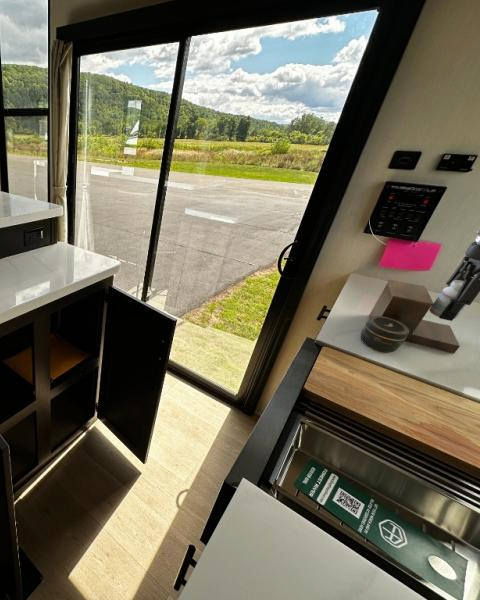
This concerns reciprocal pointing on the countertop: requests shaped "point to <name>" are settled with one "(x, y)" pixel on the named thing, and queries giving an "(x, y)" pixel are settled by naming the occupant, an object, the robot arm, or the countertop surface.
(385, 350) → the jar
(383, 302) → the step shelf
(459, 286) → the pill bottle
